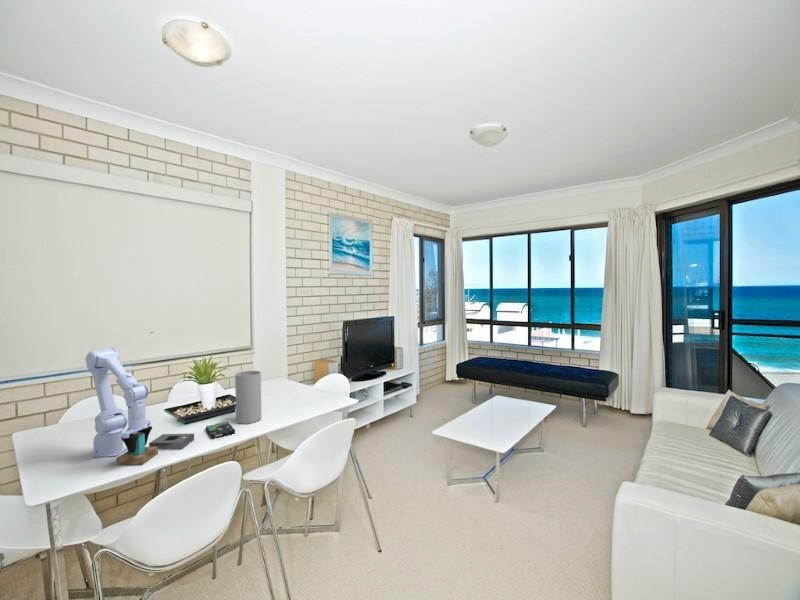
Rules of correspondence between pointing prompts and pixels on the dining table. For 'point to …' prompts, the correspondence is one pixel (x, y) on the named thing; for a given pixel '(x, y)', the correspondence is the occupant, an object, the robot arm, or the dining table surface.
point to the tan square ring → (137, 457)
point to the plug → (139, 443)
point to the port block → (172, 441)
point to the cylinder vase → (248, 396)
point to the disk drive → (220, 430)
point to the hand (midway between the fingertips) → (137, 448)
